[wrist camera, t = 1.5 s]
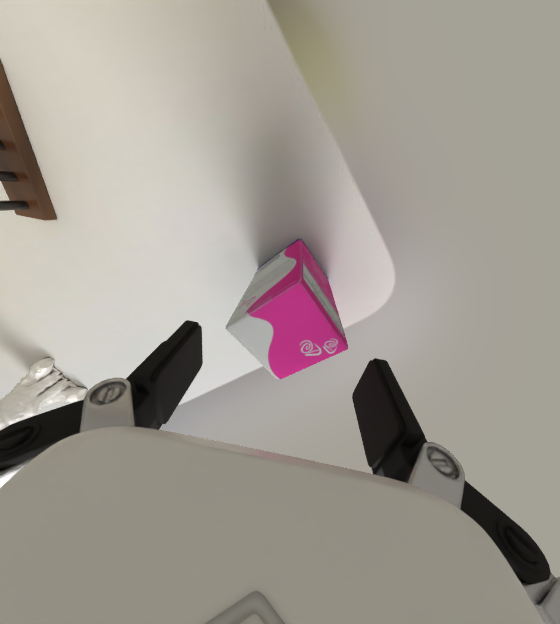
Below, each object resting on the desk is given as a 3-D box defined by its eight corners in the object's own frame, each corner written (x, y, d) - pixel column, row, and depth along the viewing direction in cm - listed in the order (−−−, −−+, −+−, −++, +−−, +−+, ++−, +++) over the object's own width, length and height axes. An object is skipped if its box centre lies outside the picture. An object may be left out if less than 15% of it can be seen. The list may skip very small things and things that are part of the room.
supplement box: (287, 308, 24) (275, 384, 15) (257, 268, 22) (218, 325, 13) (331, 282, 22) (351, 351, 12) (301, 236, 20) (296, 274, 10)
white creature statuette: (93, 393, 38) (12, 467, 27) (63, 400, 40) (-21, 471, 30) (50, 355, 34) (-64, 425, 23) (19, 365, 36) (-96, 433, 26)
